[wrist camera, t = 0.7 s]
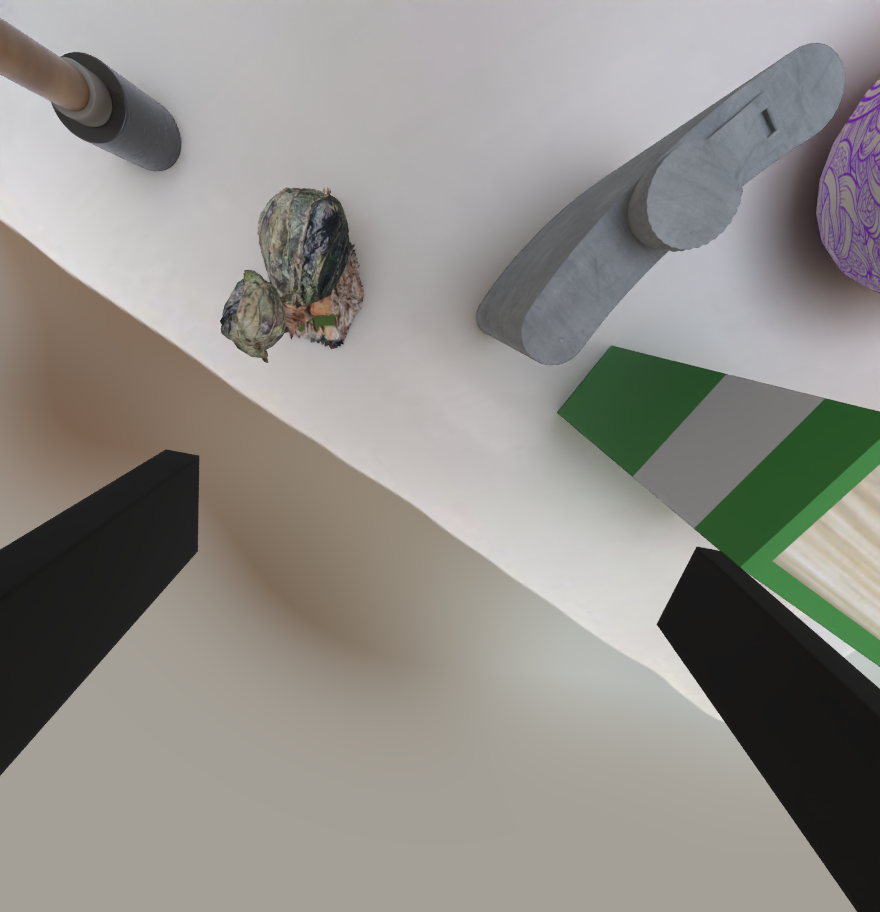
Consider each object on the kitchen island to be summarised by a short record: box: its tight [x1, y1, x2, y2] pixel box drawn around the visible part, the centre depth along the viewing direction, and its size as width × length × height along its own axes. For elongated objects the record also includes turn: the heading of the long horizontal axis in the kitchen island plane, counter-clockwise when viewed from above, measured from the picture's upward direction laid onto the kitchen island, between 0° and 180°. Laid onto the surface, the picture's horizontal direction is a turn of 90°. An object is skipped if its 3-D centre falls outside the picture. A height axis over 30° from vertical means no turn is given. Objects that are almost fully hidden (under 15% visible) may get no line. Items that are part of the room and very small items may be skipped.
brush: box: [0, 18, 181, 171], centre depth 20 cm, size 4×4×22 cm
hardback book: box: [557, 346, 880, 667], centre depth 29 cm, size 18×7×24 cm, turn 55°
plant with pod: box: [220, 188, 364, 363], centre depth 25 cm, size 8×11×20 cm
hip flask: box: [476, 43, 845, 365], centre depth 25 cm, size 16×4×20 cm, turn 135°
